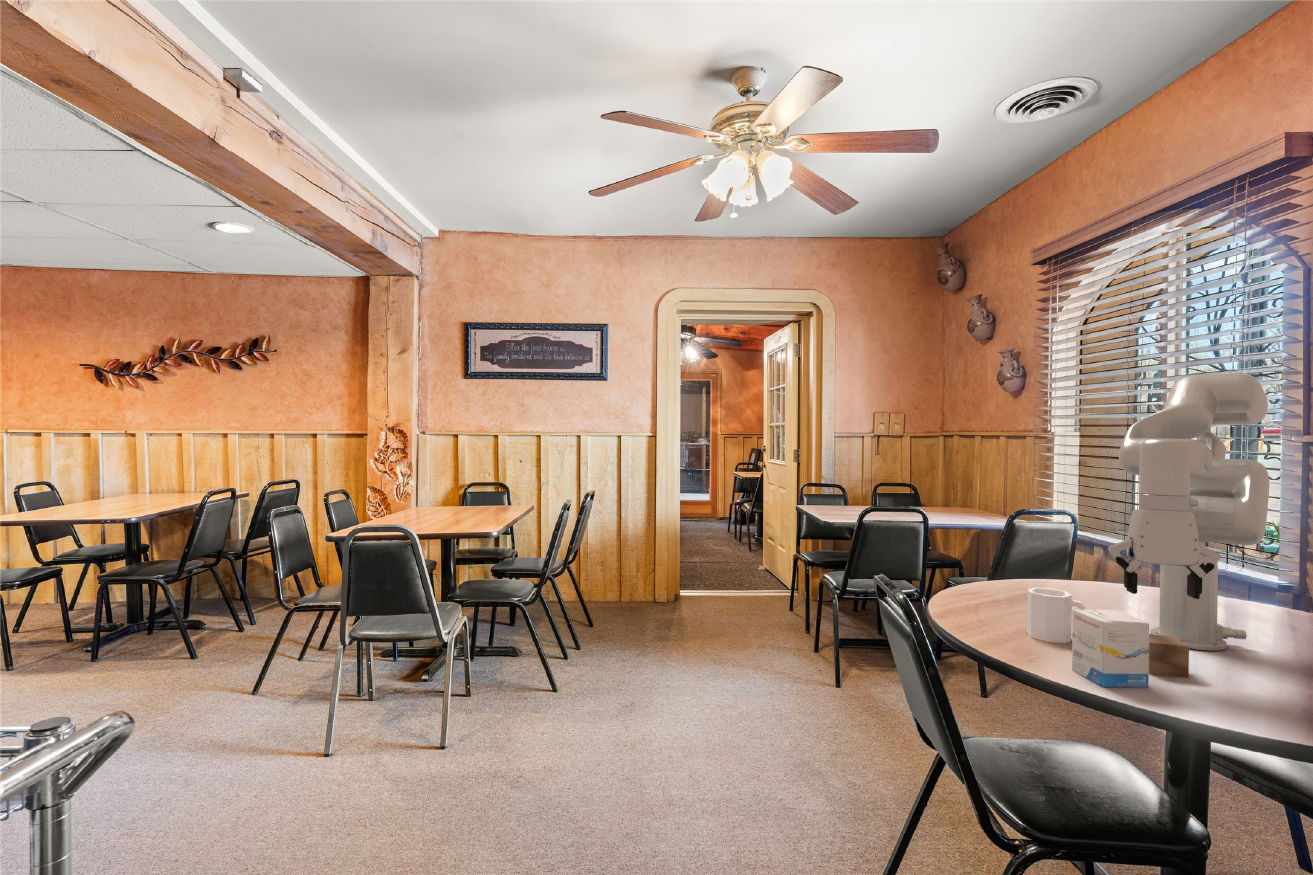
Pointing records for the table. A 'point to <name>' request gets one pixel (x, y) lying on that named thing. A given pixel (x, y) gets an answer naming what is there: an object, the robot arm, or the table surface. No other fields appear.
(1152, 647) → the walnut cube
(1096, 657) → the ink box
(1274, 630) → the table surface
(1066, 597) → the mug
